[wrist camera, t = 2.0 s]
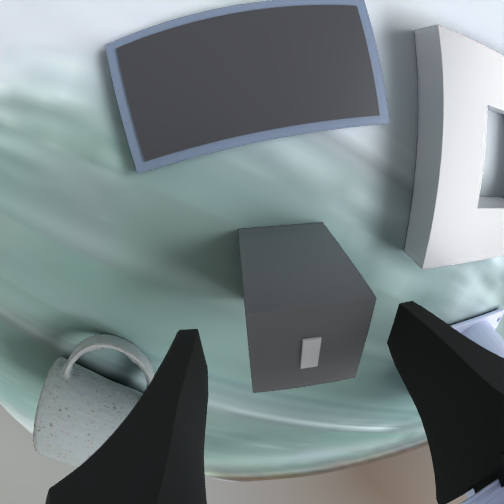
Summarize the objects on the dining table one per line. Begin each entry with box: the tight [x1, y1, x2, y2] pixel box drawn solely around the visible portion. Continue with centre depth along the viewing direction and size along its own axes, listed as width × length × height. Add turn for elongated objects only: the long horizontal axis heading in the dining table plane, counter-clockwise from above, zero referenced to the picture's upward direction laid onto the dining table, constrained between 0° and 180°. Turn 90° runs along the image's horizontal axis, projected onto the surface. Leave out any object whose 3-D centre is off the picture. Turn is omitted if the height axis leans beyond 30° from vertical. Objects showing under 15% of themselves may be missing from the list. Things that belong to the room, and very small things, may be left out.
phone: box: [105, 0, 390, 173], centre depth 10 cm, size 6×11×1 cm, turn 101°
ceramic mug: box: [33, 334, 154, 467], centre depth 15 cm, size 11×8×8 cm
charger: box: [238, 222, 376, 393], centre depth 12 cm, size 4×4×6 cm
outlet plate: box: [404, 25, 504, 269], centre depth 11 cm, size 12×12×2 cm
